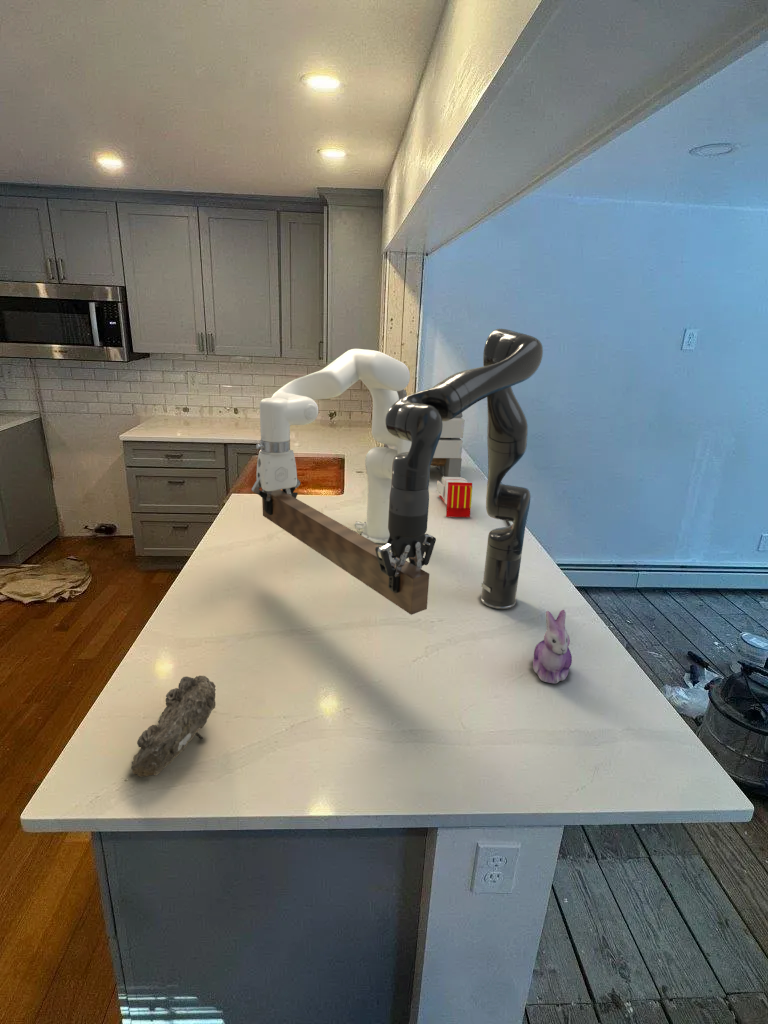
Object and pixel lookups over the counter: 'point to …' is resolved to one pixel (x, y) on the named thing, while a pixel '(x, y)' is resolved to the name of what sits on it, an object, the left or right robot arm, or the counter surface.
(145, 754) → the fossil
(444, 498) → the toy
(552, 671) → the figurine
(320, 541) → the beam
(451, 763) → the counter surface
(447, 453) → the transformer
